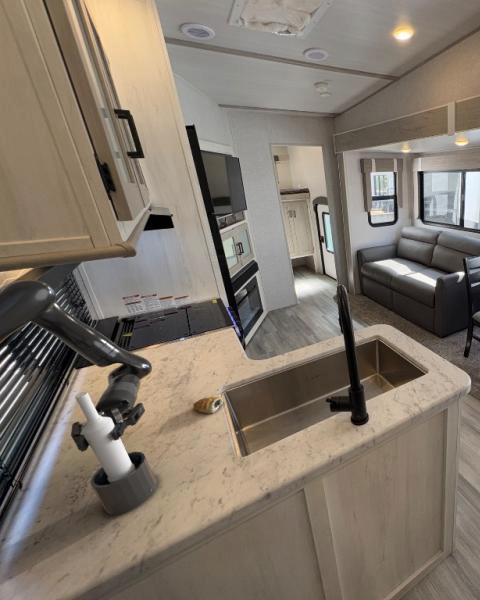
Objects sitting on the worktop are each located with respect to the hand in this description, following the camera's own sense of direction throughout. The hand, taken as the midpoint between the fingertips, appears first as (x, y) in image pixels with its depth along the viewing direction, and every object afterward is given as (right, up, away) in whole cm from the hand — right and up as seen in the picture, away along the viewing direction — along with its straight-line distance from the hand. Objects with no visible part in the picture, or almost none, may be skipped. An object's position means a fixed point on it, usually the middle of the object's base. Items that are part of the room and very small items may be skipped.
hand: (98, 442), depth 69 cm
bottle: (-1, -12, +7) cm, 14 cm away
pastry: (0, -6, +40) cm, 40 cm away
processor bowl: (0, -17, +9) cm, 20 cm away
